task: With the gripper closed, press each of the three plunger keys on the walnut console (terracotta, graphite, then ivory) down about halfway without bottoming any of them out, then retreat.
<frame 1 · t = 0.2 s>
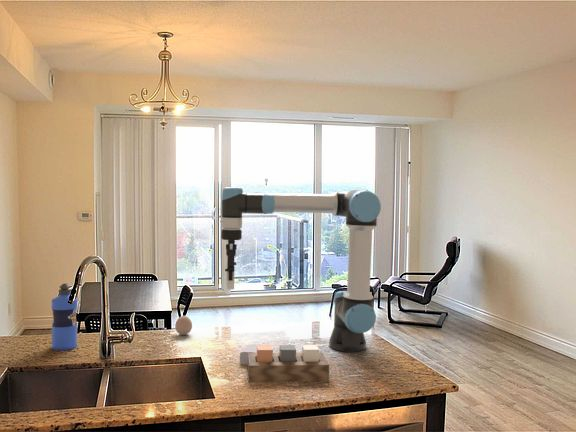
hand: (230, 285, 193), 28 cm above the counter, fingers open, 13 cm apart
key ivory: (310, 355, 180), point 6 cm above the counter, slide at 0.0 cm
key terracotta: (264, 356, 179), point 6 cm above the counter, slide at 0.0 cm
key graphite: (287, 356, 179), point 6 cm above the counter, slide at 0.0 cm
water bottle: (64, 347, 203), on the counter
console: (287, 374, 180), on the counter
egg: (183, 335, 224), on the counter
charger: (256, 359, 196), on the counter
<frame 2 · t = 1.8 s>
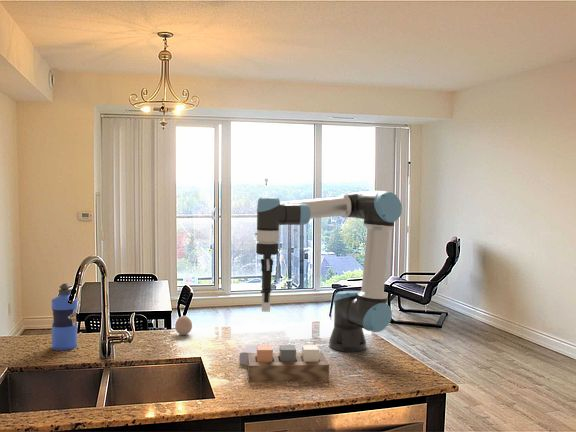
hand: (265, 310, 178), 22 cm above the counter, fingers closed
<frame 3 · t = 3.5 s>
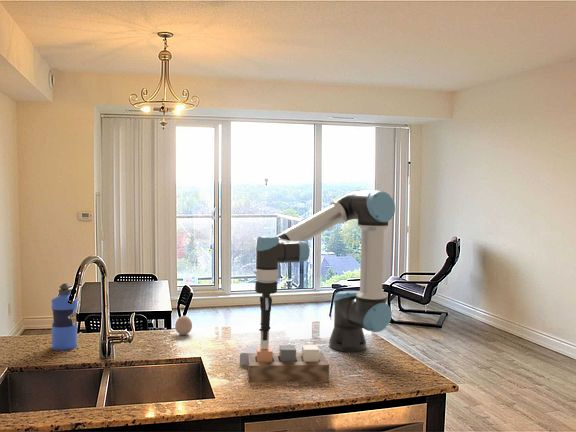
hand: (264, 348, 178), 9 cm above the counter, fingers closed
key terracotta: (264, 357, 179), point 6 cm above the counter, slide at 0.6 cm, touching gripper
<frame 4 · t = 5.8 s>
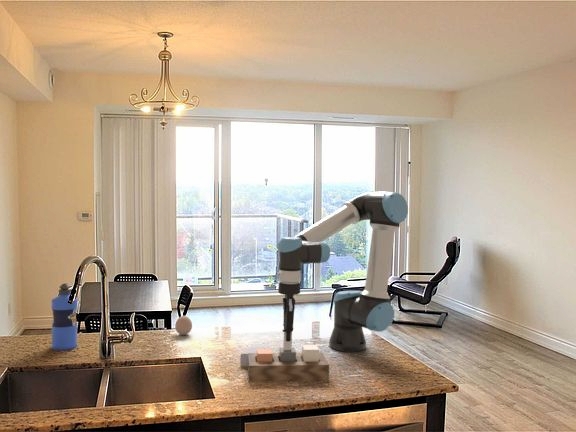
hand: (287, 349, 179), 9 cm above the counter, fingers closed
key terracotta: (264, 359, 179), point 5 cm above the counter, slide at 1.3 cm
key graphite: (287, 358, 180), point 6 cm above the counter, slide at 0.9 cm, touching gripper
charger: (258, 361, 194), on the counter
everything else where it was.
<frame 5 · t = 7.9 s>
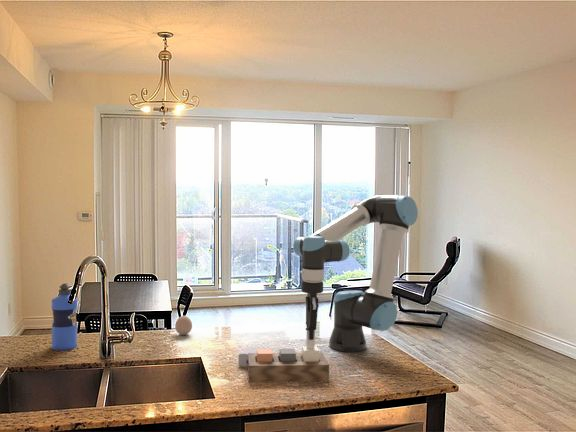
hand: (310, 347, 180), 9 cm above the counter, fingers closed
key ivory: (310, 356, 180), point 6 cm above the counter, slide at 0.4 cm, touching gripper
key graphite: (287, 359, 180), point 5 cm above the counter, slide at 1.3 cm
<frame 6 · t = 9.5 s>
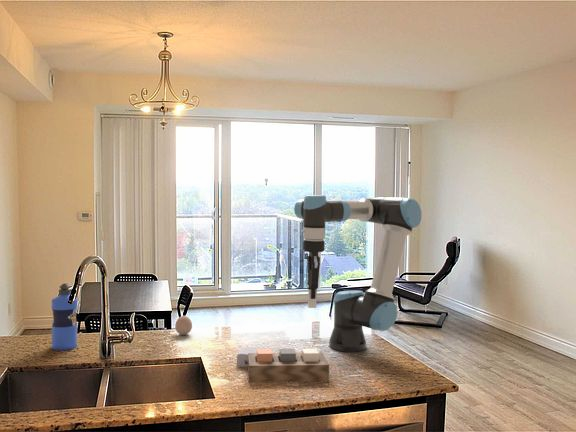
hand: (312, 307, 180), 24 cm above the counter, fingers closed
key ivory: (310, 359, 180), point 5 cm above the counter, slide at 1.3 cm
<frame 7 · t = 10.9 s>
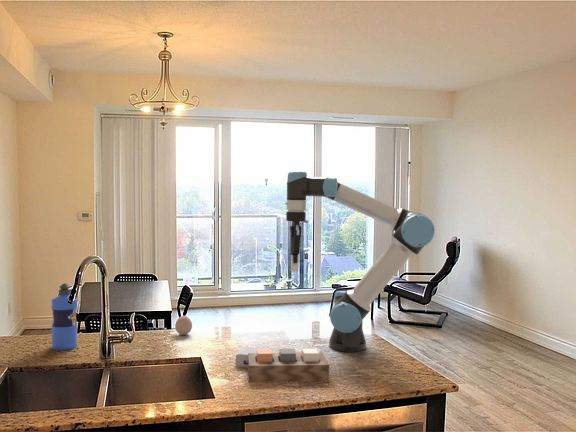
hand: (294, 271, 203), 32 cm above the counter, fingers closed
charger: (252, 361, 193), on the counter, touching console
everything else where it was.
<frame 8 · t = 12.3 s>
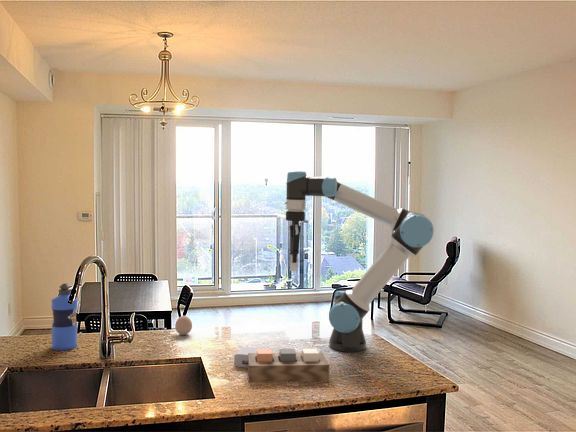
hand: (293, 270, 203), 32 cm above the counter, fingers closed
charger: (251, 361, 193), on the counter
everything else where it was.
at the end: key terracotta slide at 1.3 cm; key graphite slide at 1.3 cm; key ivory slide at 1.3 cm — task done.
